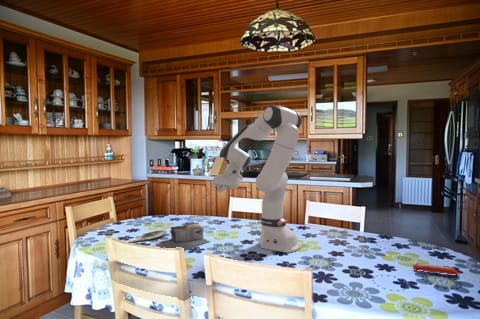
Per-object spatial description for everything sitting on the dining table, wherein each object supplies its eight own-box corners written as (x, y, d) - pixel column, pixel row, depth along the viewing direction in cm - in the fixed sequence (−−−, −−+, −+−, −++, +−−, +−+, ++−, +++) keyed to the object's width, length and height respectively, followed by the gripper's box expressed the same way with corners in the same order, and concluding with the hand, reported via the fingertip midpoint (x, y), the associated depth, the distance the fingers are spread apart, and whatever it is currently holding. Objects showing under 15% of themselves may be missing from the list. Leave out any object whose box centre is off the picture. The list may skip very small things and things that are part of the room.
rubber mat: (210, 242, 171) (210, 241, 171) (176, 252, 155) (176, 252, 155) (188, 235, 183) (188, 234, 183) (155, 245, 167) (155, 244, 167)
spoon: (113, 255, 158) (113, 251, 157) (103, 250, 165) (103, 246, 164) (171, 234, 184) (171, 231, 184) (160, 231, 191) (160, 228, 191)
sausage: (413, 272, 131) (413, 264, 131) (412, 268, 135) (412, 261, 134) (459, 278, 125) (459, 270, 125) (457, 274, 129) (457, 267, 128)
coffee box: (198, 234, 184) (170, 237, 178) (198, 223, 184) (170, 226, 177) (203, 238, 176) (174, 242, 169) (203, 227, 175) (174, 230, 169)
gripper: (215, 170, 199) (204, 187, 193) (240, 171, 186) (228, 190, 179) (221, 176, 203) (210, 193, 196) (245, 178, 189) (234, 197, 183)
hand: (219, 192), depth 188 cm, fingers closed
